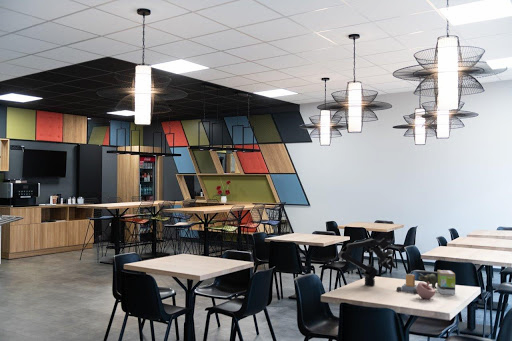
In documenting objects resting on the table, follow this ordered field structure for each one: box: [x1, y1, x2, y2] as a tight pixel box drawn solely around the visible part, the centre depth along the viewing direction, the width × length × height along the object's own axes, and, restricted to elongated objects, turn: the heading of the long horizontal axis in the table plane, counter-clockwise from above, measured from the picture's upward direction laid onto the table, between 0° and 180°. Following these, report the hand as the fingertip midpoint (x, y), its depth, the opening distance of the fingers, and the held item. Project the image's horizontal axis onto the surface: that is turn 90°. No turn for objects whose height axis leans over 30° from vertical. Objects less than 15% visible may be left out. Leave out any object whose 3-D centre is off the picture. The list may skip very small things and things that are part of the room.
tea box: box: [436, 269, 456, 296], centre depth 339 cm, size 15×10×15 cm, turn 168°
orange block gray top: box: [405, 273, 416, 287], centre depth 344 cm, size 5×4×11 cm
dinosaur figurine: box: [418, 272, 437, 290], centre depth 355 cm, size 22×8×11 cm, turn 123°
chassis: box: [396, 283, 418, 294], centre depth 344 cm, size 16×15×4 cm
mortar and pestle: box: [416, 281, 436, 300], centre depth 319 cm, size 12×12×11 cm
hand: (393, 268), depth 356 cm, fingers open, 9 cm apart
